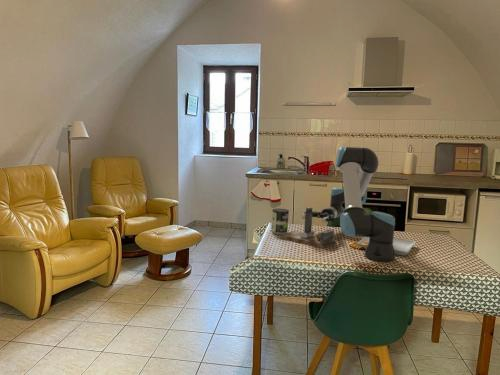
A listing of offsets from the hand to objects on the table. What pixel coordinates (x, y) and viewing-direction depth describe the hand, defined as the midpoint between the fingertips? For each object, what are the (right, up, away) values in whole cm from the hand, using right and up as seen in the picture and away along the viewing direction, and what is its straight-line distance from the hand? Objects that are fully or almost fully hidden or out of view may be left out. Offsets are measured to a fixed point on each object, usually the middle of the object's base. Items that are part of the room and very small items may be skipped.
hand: (312, 218), depth 232 cm
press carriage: (-3, -10, -3) cm, 11 cm away
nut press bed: (-3, -13, -3) cm, 13 cm away
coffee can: (-18, -10, +15) cm, 26 cm away
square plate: (+41, -16, -9) cm, 45 cm away
